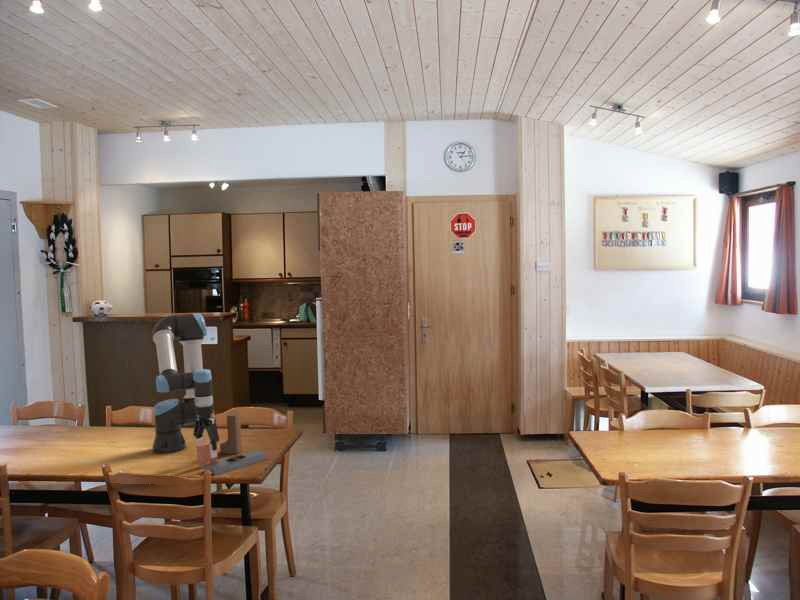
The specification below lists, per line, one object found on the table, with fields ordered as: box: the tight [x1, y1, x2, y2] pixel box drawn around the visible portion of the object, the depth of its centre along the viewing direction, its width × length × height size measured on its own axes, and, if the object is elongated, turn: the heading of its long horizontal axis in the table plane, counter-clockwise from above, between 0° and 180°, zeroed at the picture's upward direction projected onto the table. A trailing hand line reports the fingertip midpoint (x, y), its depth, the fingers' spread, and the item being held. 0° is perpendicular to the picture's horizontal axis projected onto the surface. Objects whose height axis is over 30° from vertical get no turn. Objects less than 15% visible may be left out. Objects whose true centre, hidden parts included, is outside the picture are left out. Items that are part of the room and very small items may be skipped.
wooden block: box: [219, 413, 243, 455], centre depth 289 cm, size 9×4×18 cm, turn 74°
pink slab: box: [196, 441, 218, 470], centre depth 270 cm, size 3×8×10 cm, turn 137°
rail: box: [203, 449, 268, 476], centre depth 269 cm, size 8×26×3 cm, turn 137°
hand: (207, 455), depth 270 cm, fingers open, 10 cm apart
